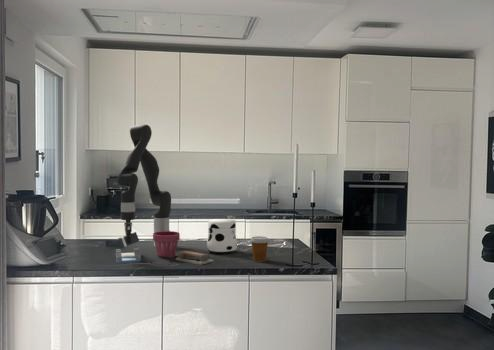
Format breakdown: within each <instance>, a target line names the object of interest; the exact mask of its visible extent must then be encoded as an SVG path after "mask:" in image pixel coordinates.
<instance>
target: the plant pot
mask: <svg viewBox="0 0 494 350" xmlns="http://www.w3.org/2000/svg"><path fill="white" fill-rule="evenodd" d="M180 238H181V237H180V232H178V231H172V230H170V231H160V232H155V233H154V232H153V233H152V241H153V242H154V241H155V246H156V247H155V246H154V247H155V250H156V256H158V257H162V258H163V257H164V258H165V257H167V258H168V259H173V258H174V257H176V252H177V248H178V243H179V241H180Z"/></svg>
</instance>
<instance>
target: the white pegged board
mask: <svg viewBox="0 0 494 350" xmlns="http://www.w3.org/2000/svg"><path fill="white" fill-rule="evenodd" d="M139 248H140V247H139ZM139 248H138V247H137V248H133V252H122V248H121V249H120V248H118V249H117V248H116V249H115V258H116V265H125V264H128V263H129V262H133V264H141V263H142V262H141V261H142V254H141V252H140V249H139Z"/></svg>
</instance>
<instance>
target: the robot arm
mask: <svg viewBox="0 0 494 350" xmlns="http://www.w3.org/2000/svg"><path fill="white" fill-rule="evenodd" d="M129 135H130V138H131V142H132V144H133V146H134V148H133V149H132V150H131V151H130V153H129V154H128V156H127V158H126V161H125V165H124V166H123V168H122V169H121V171H120V173H119V174H118V176H117V184H118V185H119V186H120V187H128V189H127V190H123V191H121V192H120V199H121V200H120V220H122V221H125V222H124V232H125V236H126V243H131V233H133V232H132V230H133V222H131V221H133V220H136V204H135V203H136V202H135V201H136V196H135V195H136V191H137V190H136V189H137V187H138V183H139V177H138V176H137V174H135V173H137V171H138V170H139V167H140V165H141V168H142V171H143V175H144V178H145V182H146V183H147V188H148V191H149V197H150V200H151V203H152V205H154V206H155V207H159V209H158V211H155V212H154V213H153V233H155V232H160V231H171V230H170V214H171V210H172V209H171V208H172V197H171V193H170V192H169V191H168V190H160V187H159V184H158V180H159V176H160V166H159V164H158V161H157V158H156V157H155V156H154V155H153V154H152V152H150V151H149V150H148V149H147V146H148V144H149V142H150V141H151V138H152V127H151V126H150V125H148V124H137V125H132V126H130V129H129ZM153 246H154V247H155V248H156V246H155V241H153Z"/></svg>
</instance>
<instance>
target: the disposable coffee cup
mask: <svg viewBox="0 0 494 350" xmlns="http://www.w3.org/2000/svg"><path fill="white" fill-rule="evenodd" d="M250 242H251V250H252V251H251V252H252V258H253V261H254V262H257V263H258V262H259V263H264V262H265V261H266V260H267V259H266V258H267V252H268V245H269V244H268V243H269V242H270V241H269V238H268V237H267V236H260V235H259V236H252V237H251V238H250Z"/></svg>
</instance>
